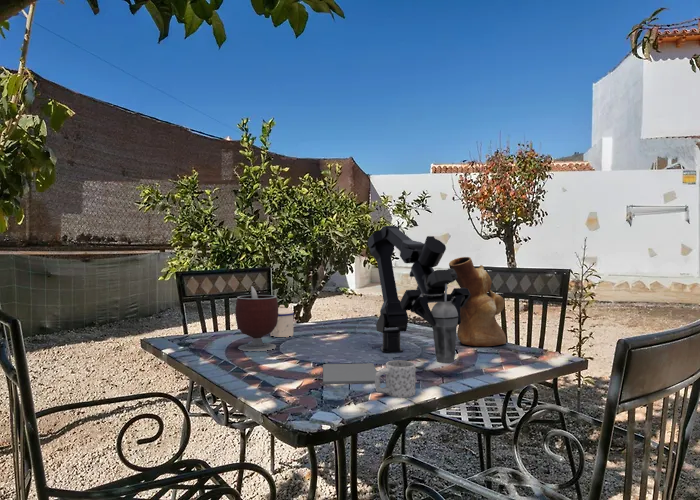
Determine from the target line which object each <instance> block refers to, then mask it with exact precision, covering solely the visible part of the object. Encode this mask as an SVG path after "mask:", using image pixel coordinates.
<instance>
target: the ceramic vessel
mask: <svg viewBox="0 0 700 500" xmlns="http://www.w3.org/2000/svg"><path fill="white" fill-rule="evenodd" d="M448 266H449V267H448V268H449V269H454V270H455V272H456V274H457V279H456V280H455V281H456V283H457V285H458V287H459V288H468V290H469V292H470V294H471V296H470V297H469V299H468V300H467V302H466V303H465V305H464V307H462V308H460V315H461V323H460V325H457V330H456V336H457V338H458V340H459V342H460V343H461V345H465V346H470V347H471V346H472V347H492V346H493V347H494V346H499V345H500V346H501V345H506V344H507V336H506V334H505V332H504V330H503V329H502V327H501V326H500V324H499V323H498V321H497V320H496V316H497V315H499V314H501V312H502V311H503V310H504V308H505V299H504V297H502V296H501V295H499V294H498V293H495V292H494V291H493V290H491V288H492V287H491V286H492V282H493V281H492V278H491V276H490V275H489V273H488V272H487V270H485V268H484V265H483V264H480V265H479V267H476V268H475V266H474V263H473V260H472V257H469V256H461V257H458V258H454V259H452V260H450V261H449V263H448Z"/></svg>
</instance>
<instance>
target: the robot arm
mask: <svg viewBox="0 0 700 500" xmlns="http://www.w3.org/2000/svg"><path fill="white" fill-rule="evenodd" d="M399 227H400V226H397V225H384V226H382V227H381V228H380V229H379V230H376V231H375V232H372V234H371V235H370V236H369V237H368V239H367V247H368V248H369V252H370V255H371V256H372V257H373V258H374V260H375V261H376V263H377V265H376V266H377V269H378V270H377V271H378V276H379V282H380V286H381V287H380V290H381V294H382V300H383V302H382V305H381V308H380V310H379V313H380V314H379V318H378V319H377V321H376V323H375V327H376V331H377V332H380V333H382V346H380V350H381V352H383V353H402V352H403V353H404V350H403V348H402V347H401V332H407V329H408V323H409V316H408V312H407V311H410V312H411V313H413V314H416V315H417V316H418V317H420V318H422V319H423V320H424V321H425V322H427V323H428V324H430V325H431V326H432V327H433V326H435V325H436V323H435V320H434V317H433V315H432V313H431V309H430V306H429V304H434V303H435V304H436V303H438V302H440V301H444V299H445V284H447V290H448V288H449V287H448V285H449V284H450V283H453V282H455V281H456V279H457V274H456V272H455V270H454V269H450V268H447V269H437V270H434V268H435V267H437V266H438V265H439V263H440V261H441V260H442V257H443V256H444V254H445V252H446V250H447V246H446V244H445V243H443V242H442V241H441V240H440V239H437V238H435V236H433V235H427V236H426V238H425V241H424V242H421V241H417V240H414V239H412V238H410V237H409V236H408V235H407V234H406V233H404V231H402V230H401V229H400V228H399ZM395 248H396V249H397V250H398V251H399V252H400V253H399V257H400V259H401V260H402V262H404V264H412V265H411V269H410V272H409V277H410V278H415V282H416V284H417V287H416V289H406V290H405V291H404V293H403V295H402V297H401V300H400V299H399V297H398V296H399V294H398V289H397V284H396V283H397V282H396V280H395V278H396V277H395V273H394V268H393V262H392V261H393V260H392V256H393V253H394V251H395ZM470 296H471V294H470V292H469V290H468V288H460V287H456V288H455V287H454V288H453V290H452V291H451V293H447V300H446V301H448V302H450V303H452V304H453V305H454V306H455V308H456V309H457V312H458V316H459V317H458V323H457V326H459V325H460V323H461V315H460V308H462V307H464V305H465V303H466V302H467V300H468V299H469V297H470Z"/></svg>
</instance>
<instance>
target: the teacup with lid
mask: <svg viewBox="0 0 700 500" xmlns="http://www.w3.org/2000/svg"><path fill="white" fill-rule="evenodd" d="M294 314H295V312H294V311H293V310H290V309H289V308H287V307H285V305H284V304H280V305H278V320H277V325H276V327H275V328H274V330H273V331H272V332H271V333H269V334H270V337H271V336H275V337H286V338H290V337H289V336H291V337H294ZM275 337H274V338H275Z"/></svg>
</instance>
